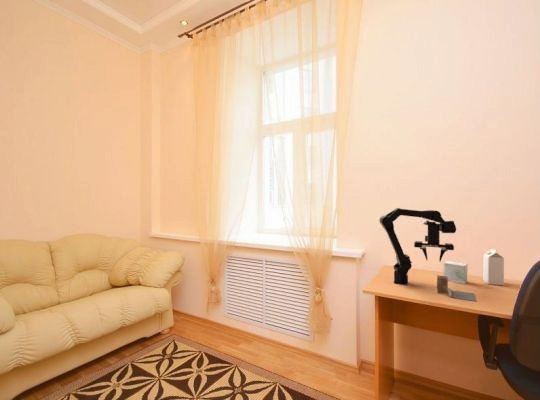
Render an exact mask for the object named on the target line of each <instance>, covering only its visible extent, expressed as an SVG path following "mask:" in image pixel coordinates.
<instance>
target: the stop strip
mask: <svg viewBox="0 0 540 400" xmlns="http://www.w3.org/2000/svg"><path fill="white" fill-rule="evenodd" d="M452 297H453V293H452V289H451V288H450V287H448V298H451V299H452Z"/></svg>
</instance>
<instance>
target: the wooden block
mask: <svg viewBox="0 0 540 400" xmlns="http://www.w3.org/2000/svg"><path fill="white" fill-rule="evenodd" d="M448 282H449V281H448V277H447V276H444V275H440V274H439V275H436V293H437V294H438V295H439V294H441V295H448V288H449V285H448V284H449V283H448ZM448 296H449V295H448Z"/></svg>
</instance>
